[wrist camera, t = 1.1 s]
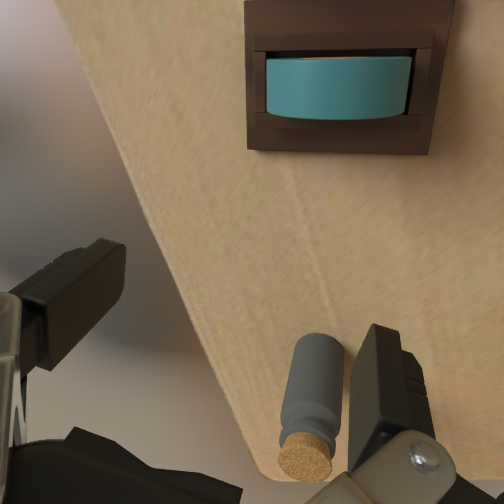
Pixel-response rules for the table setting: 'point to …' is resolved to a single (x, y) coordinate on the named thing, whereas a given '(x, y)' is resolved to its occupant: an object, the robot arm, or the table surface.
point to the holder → (346, 45)
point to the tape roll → (337, 87)
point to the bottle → (312, 409)
